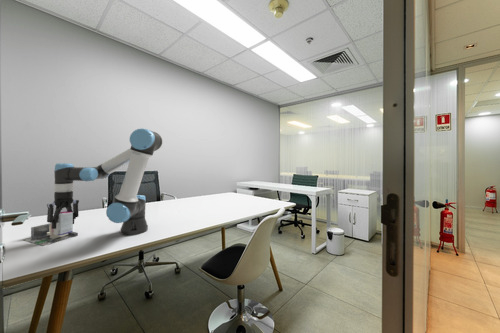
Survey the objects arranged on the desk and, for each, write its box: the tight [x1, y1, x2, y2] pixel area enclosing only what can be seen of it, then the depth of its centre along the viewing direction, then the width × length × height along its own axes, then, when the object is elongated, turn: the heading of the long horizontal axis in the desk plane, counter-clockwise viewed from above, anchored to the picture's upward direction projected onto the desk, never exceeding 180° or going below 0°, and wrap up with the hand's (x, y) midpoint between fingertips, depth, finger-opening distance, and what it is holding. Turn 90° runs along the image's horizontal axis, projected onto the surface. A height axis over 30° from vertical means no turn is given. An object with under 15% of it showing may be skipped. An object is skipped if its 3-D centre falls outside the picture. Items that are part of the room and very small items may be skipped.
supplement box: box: [57, 210, 74, 235], centre depth 109 cm, size 6×6×12 cm
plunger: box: [37, 224, 68, 240], centre depth 109 cm, size 8×13×8 cm, turn 161°
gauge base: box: [23, 222, 79, 247], centre depth 110 cm, size 18×16×6 cm
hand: (63, 232), depth 109 cm, fingers closed on supplement box, 6 cm apart
